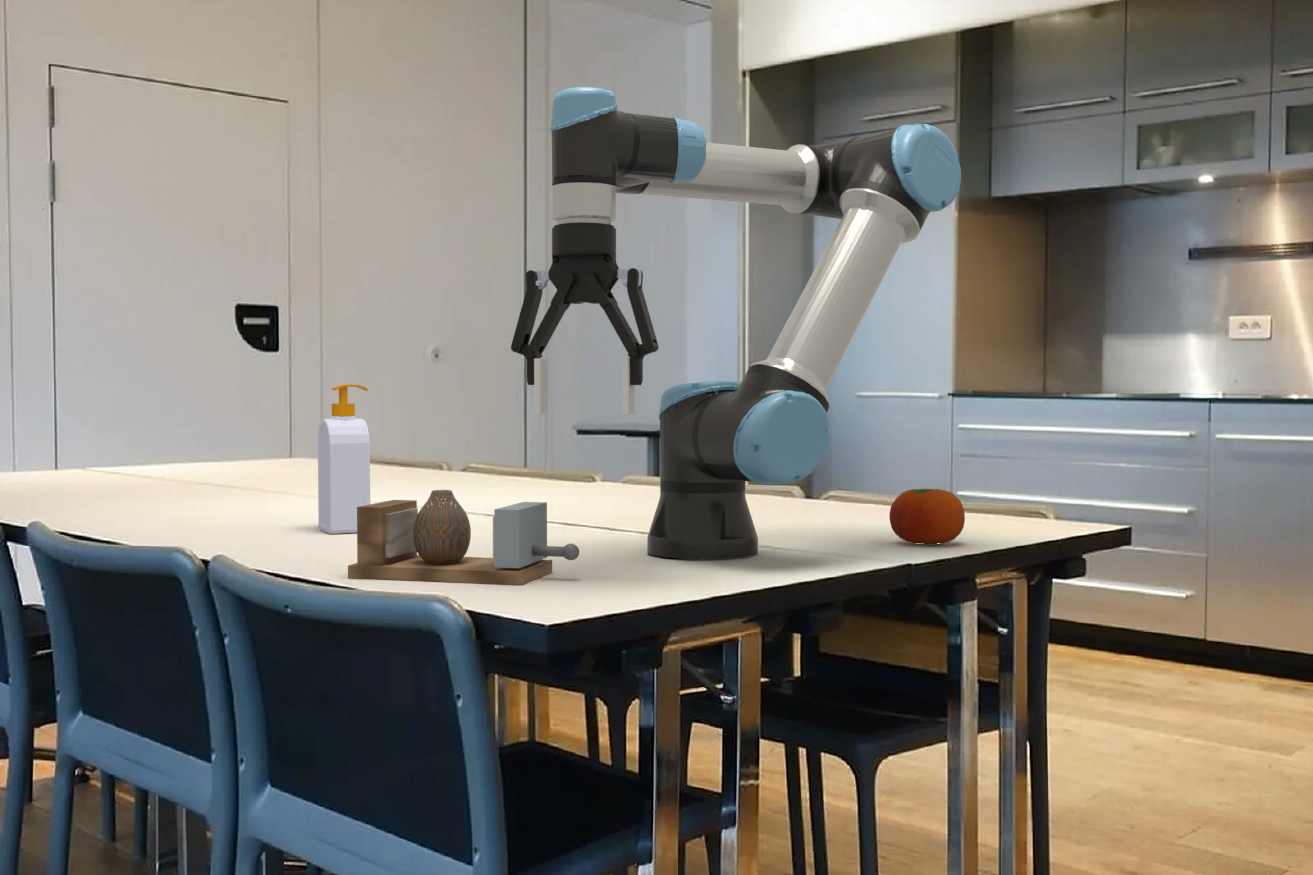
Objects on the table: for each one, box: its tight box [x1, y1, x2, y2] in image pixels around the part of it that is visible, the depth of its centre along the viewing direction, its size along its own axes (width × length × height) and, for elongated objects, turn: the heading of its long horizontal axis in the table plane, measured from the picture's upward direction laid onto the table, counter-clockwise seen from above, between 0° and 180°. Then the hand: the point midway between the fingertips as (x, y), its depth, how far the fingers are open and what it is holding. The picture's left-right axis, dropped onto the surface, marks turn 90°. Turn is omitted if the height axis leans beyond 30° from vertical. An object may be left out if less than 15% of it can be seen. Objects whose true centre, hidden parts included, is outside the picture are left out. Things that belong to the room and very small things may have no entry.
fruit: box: [888, 488, 966, 545], centre depth 198 cm, size 11×10×8 cm
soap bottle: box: [317, 384, 371, 535], centre depth 214 cm, size 9×7×23 cm
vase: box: [413, 489, 472, 564], centre depth 167 cm, size 7×7×9 cm
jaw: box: [492, 501, 580, 568], centre depth 163 cm, size 9×10×7 cm
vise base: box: [347, 499, 553, 586], centre depth 166 cm, size 22×11×8 cm, turn 76°
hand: (584, 413), depth 162 cm, fingers open, 10 cm apart
